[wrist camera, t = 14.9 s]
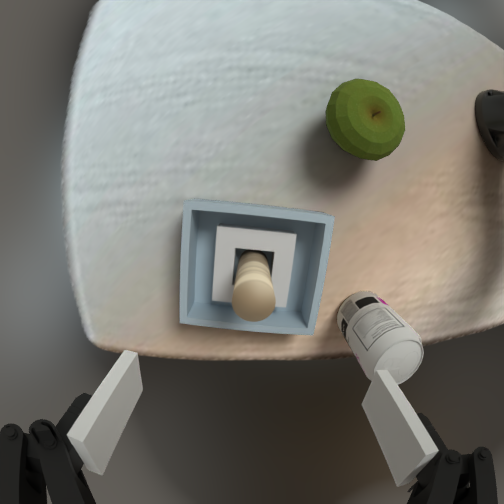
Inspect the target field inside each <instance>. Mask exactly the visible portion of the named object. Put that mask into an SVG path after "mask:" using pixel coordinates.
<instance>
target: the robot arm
mask: <svg viewBox="0 0 504 504" xmlns="http://www.w3.org/2000/svg"><path fill="white" fill-rule="evenodd" d="M475 110H476V118H477V123H478V127H479V130H480V133H481V136H482V138H483V140H484V142H485V144H486V146H487V148H488V149H489V151H490V152H491V153H492V154H493V155H494V156H495V157H496V158H497V159H499V160H502V161H504V91H498V90H486V91H483V92H481V93H479V95H478V96H477V99H476V106H475ZM142 391H143V387H142V381H141V375H140V367H139V360H138V353H136V352H132V351H127V350H125V351H124V352H123V353H122V355H121V356H120V358H119V359H118V360H117V362H116V363H115V364H114V366H113V367H112V369H111V370H110V372H109V373H108V374H107V376H106V377H105V379H104V380H103V381H102V383H101V384H100V386H99V387H98V389H97V390H96V392H95V393H94V395H93V396H91V395H88V394H86V393H83V394H81V395H80V396H78V397H77V398H76V399H75V400H74V401H73V403H72V404H71V406H70V407H69V408H68V410H67V412H66V413H65V414H64V415H63V417H62V418H61V419H60V421H59V423H58V424H57V425H56V427H55V426H54V424H53V423H52V422H50V421H48V420H43V419H40V420H37V421H35V422H33V423H32V424H31V426H30V427H29V433H30V434H27V433H24V432H23V431H22V429H21V428H20V427H19V426H18V425H16V424H7V425H5V426H4V427H3V428H2V429H1V431H0V504H47V494H46V486H47V489H48V492H49V495H50V498H51V501H52V504H96V502H95V500H94V498H93V496H92V493H91V491H90V489H89V486H88V484H87V482H86V479H85V477H84V474H83V472H82V470H81V468H82V466H83V464H84V465H85V466H86V468H87V469H88V470H90V471H92V472H95V473H97V474H100V475H103V473H104V471H105V468H106V466H107V464H108V462H109V459H110V457H111V455H112V453H113V451H114V449H115V447H116V444H117V442H118V440H119V438H120V436H121V434H122V431H123V429H124V427H125V425H126V423H127V421H128V419H129V417H130V415H131V413H132V411H133V409H134V407H135V405H136V403H137V401H138V398H139V397H140V394H141V392H142ZM362 406H363V409H364V411H365V413H366V415H367V417H368V420H369V422H370V424H371V426H372V428H373V431H374V433H375V435H376V438H377V440H378V442H379V445H380V447H381V449H382V452H383V454H384V456H385V459H386V461H387V463H388V466H389V468H390V470H391V473H392V475H393V478H394V480H395V483H396V485H397V487H398V486H401V485H404V484H408V483H410V482H411V481H412V480H413V479H414V478H415V477H417V480H418V481H417V482H416V483H415V484H414V485H413V486H412V487H411V488H410V489H409V490H408V492H410V491H411V490H412V489H413V491H412V493H411V496H410V498H409V500H408V502H407V504H498V500H497V488H496V479H495V472H494V465H493V459H492V454H491V452H490V451H489V449H487V448H485V447H478V448H477V449H475V450H474V452H473V453H472V454H467V455H461V454H459V453H458V452H457V451H455V450H448V449H447V448H446V446H445V444H444V443H443V441H442V439H441V438H440V436H439V435H438V433H437V432H436V431H435V429H434V427H433V426H432V424H431V422H430V421H429V419H428V418H427V417H426V416H424V415H423V414H422V413H418V414H416V413H415V411H414V410H413V408H412V406H411V405H410V403H409V402H408V400H407V399H406V397H405V396H404V394H403V393H402V391H401V389H400V388H399V386H398V385H397V383H396V382H395V380H394V379H393V377H392V376H391V374H390V373H389V371H388V370H376V372H375V374H374V377H373V379H372V382H371V384H370V387H369V389H368V392H367V393H366V396H365V398H364V400H363V403H362ZM469 483H470V487H469Z"/></svg>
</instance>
